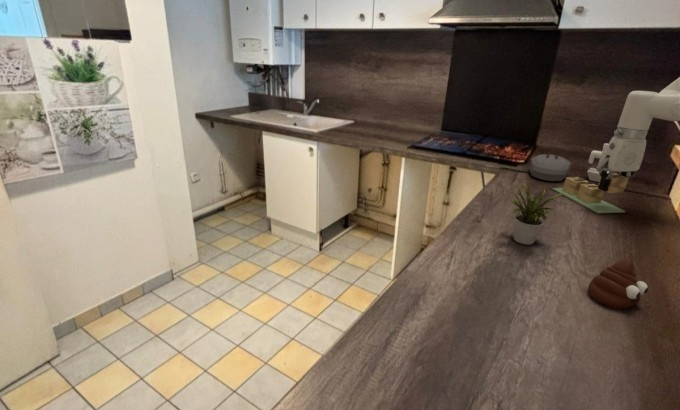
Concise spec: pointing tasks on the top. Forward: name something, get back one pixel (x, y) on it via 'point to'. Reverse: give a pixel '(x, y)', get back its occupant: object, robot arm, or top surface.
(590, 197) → the letter I
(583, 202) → the word mat
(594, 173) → the figurine
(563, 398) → the top surface
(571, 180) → the letter L
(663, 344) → the top surface
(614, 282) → the poop emoji
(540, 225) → the house plant
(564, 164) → the small grey backpack
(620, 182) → the letter T
